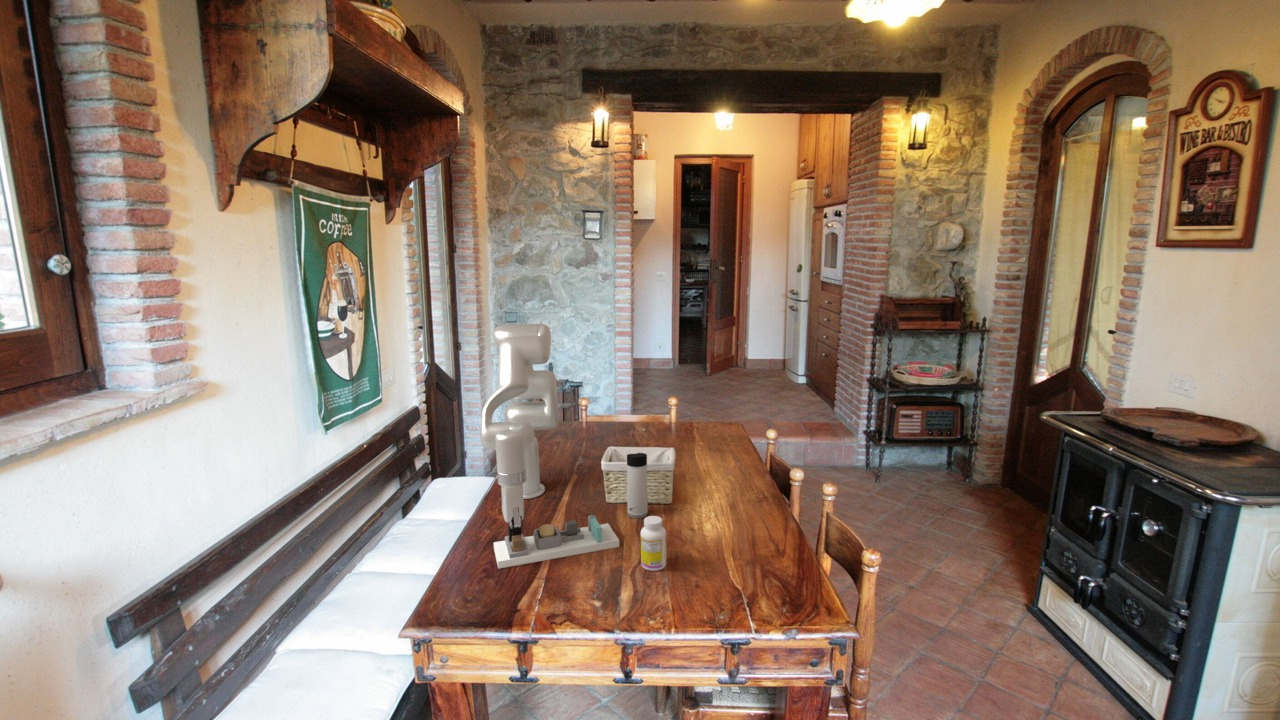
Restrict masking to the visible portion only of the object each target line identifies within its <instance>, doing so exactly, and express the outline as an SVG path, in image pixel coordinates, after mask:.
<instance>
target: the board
mask: <svg viewBox="0 0 1280 720" xmlns="http://www.w3.org/2000/svg"><path fill="white" fill-rule="evenodd" d="M600 526H601V528H602V541H601V542H597V541H596V539H595V538H594V536H593V534H592V533H591V532H590V531H588V526H584V527H577V530H578V535H573V536H567V537H566V535H565V529H564V530H563V529H562V530H559V527H558V526H555V525H554V524H542V525H540V526H539V528H535V529H534V530H533V535H530V536H524V535H523V534H522V543H523V551H517V552H513V550H512V542H510V540H509V535H506V536H504V540H499V541H495V542H493V551H494V555H495V561H496V564H497V569H498V570H499V569H500V570H501V569H504V568H505V569H506V568H509V567H516V566H522V565H525V564H526V565H527V564H532V563H533V564H534V563H537V562H543V561H549V560H554V559H560V558H564V557H565V558H566V557H570V556H576V555H577V556H578V555H581V554H587V553H593V552H599V551H603V550H604V551H605V550H609V549H614V548H619V547H620V539H619V537H618V536H617V535H616V533H615V532H614V530H613V529H612V527H611V525H610V524H609V523H608V522H607V523H603V524H600Z"/></svg>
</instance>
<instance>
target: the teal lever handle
mask: <svg viewBox="0 0 1280 720" xmlns="http://www.w3.org/2000/svg"><path fill="white" fill-rule="evenodd" d="M600 525H601V524H600V523H599V521H598V520H597V515H595V514H590V515H588V517H587V527H588V531H590V532H591V533H592V534H593V536H594V538H595V539H596V541H597V542H601V541H602V528H601V526H600Z"/></svg>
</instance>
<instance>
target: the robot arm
mask: <svg viewBox="0 0 1280 720" xmlns="http://www.w3.org/2000/svg"><path fill="white" fill-rule="evenodd" d="M551 333H552V332H551V329H550V327H549V326H548V325H547V324H544V323H525V324H524V323H514V324H513V323H511V324H501V325H498V326H496V327H495V328H494V330H493V337H494V338H493V339H494V342H495V344H496V347H498V377H497V378H498V380H497V381H498V383H497V384H498V385H497V388H495V390H494V391H493V392H492V393H491V395H490V396H489V397H488V398H487V400H486V401H485V403H484V406H483V408H482V410H481V411H482V412H481V416H480V441H481V446H482V447H483V449H486V450H488V451H495V459H496V475H497V484H498V485H499V486H500V488H501V489H500V490H501V512H502V515H503V519H504V522H506V523H507V524H508V536H509V540H510V542H512V536H516V535H521V537H522V535H523V533H522V525H521V521H523V520H524V519H525V506H524V505H525V502H524V500H527V499H534V498H536V497H540V496H541V495H543V494H544V492H545V491H546V487H545V485H544V484H543V483H541V479H540V478H541V477H540V476H541V475H540V456H539V455H540V454H539V441H538V439H537V437H536V435H535V431H541V430H542V431H543V430H544V431H546V430H552V429H555V428H557V426H558V424H559V399H558V398H559V397H558V382H557V377H556V375H555V374H554V372H553V371H551V370H545V369H542V370H541V369H540V370H538V369H537V370H535V369H534V366H533V365H545V364H547V363H548V361H549V359H550V355H551V343H552V334H551ZM510 400H518V401H517V402H513V403H510V404H509V405H508V406H507V407H506V409H505V411H504V417H505V421H501V422H500V421H497V422H492V421H493V415H494V413H495V412H496V410H497V409H498V408H499V407H500V406H501V405H503V404H505V403H506V402H509V401H510ZM520 400H521V401H520ZM523 400H524V401H523ZM526 400H531V401H526ZM532 400H540V401H532Z"/></svg>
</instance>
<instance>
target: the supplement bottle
mask: <svg viewBox="0 0 1280 720" xmlns="http://www.w3.org/2000/svg"><path fill="white" fill-rule="evenodd" d="M662 525H663V518H662V517H660V516H657V515H649V516H648V515H647V516H645V517H644V519H643V527H642V528H641V529H640V564H641V567H642V568H643V569H645V570H647V571H651V572H657V571H660V570H661V571H662V570H663V569H664V568H665V567H666V565H667V530H666V529H665V528H664V526H662Z"/></svg>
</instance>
